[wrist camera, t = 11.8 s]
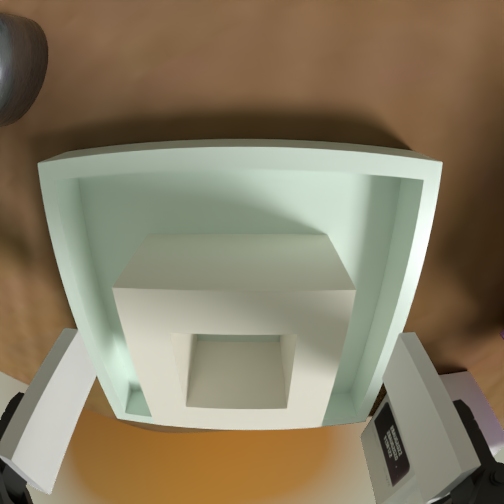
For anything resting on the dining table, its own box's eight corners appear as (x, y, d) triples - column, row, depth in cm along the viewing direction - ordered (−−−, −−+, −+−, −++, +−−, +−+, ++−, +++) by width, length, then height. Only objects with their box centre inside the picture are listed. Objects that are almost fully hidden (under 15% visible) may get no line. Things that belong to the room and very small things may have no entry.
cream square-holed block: (148, 233, 14) (111, 287, 10) (327, 234, 14) (356, 289, 10) (173, 375, 18) (159, 436, 14) (306, 377, 18) (316, 438, 14)
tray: (68, 151, 13) (37, 163, 10) (413, 150, 13) (442, 162, 10) (126, 389, 20) (117, 418, 17) (356, 392, 20) (365, 421, 18)
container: (358, 435, 23) (387, 568, 11) (392, 377, 19) (450, 543, 8) (430, 424, 23) (470, 537, 11) (470, 368, 20) (535, 495, 8)
